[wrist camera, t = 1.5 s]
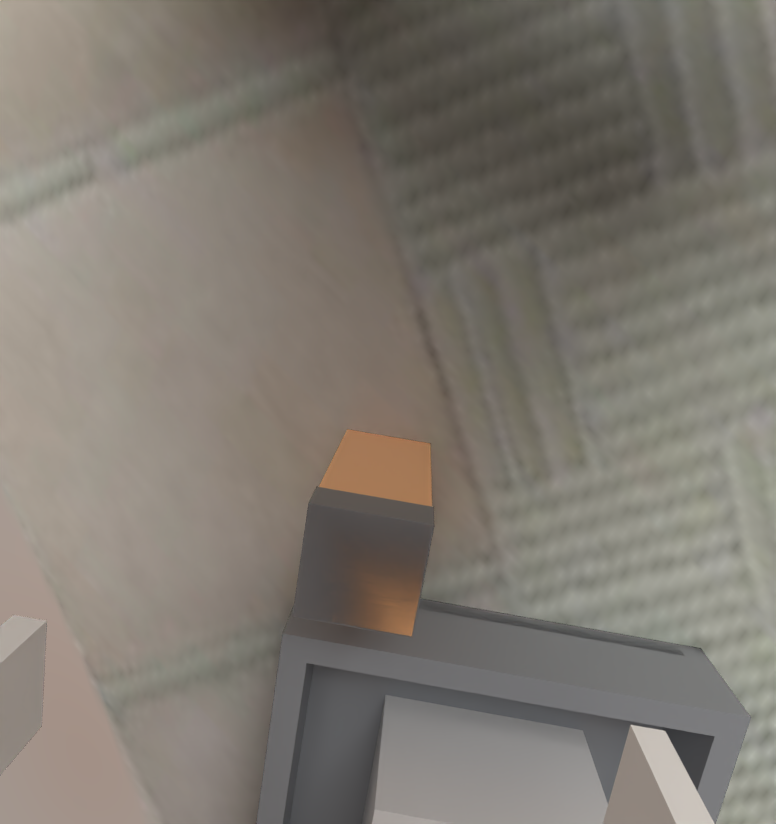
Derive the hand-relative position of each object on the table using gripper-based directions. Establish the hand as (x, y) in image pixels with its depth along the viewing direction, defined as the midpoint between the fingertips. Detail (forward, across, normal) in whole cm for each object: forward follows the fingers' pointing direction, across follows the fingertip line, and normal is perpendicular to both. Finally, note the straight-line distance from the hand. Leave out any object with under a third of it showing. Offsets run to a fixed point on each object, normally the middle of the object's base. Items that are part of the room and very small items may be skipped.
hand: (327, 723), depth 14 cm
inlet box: (+17, +7, -16) cm, 24 cm away
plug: (+17, 0, 0) cm, 17 cm away
